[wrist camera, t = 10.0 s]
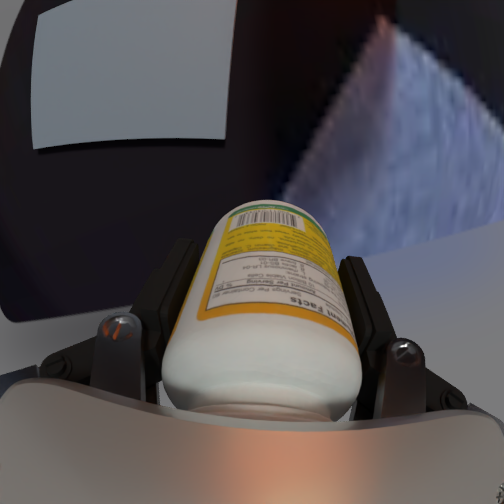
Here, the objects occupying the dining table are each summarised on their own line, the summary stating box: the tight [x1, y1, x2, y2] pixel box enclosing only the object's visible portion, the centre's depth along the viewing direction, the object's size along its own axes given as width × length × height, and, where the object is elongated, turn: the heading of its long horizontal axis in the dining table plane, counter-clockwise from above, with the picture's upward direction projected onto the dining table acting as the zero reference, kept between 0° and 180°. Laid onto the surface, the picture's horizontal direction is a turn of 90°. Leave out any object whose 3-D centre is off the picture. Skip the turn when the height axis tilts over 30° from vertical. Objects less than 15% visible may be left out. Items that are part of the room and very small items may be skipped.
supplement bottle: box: [162, 200, 362, 422], centre depth 8 cm, size 5×5×10 cm
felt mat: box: [31, 0, 237, 149], centre depth 13 cm, size 16×12×1 cm
